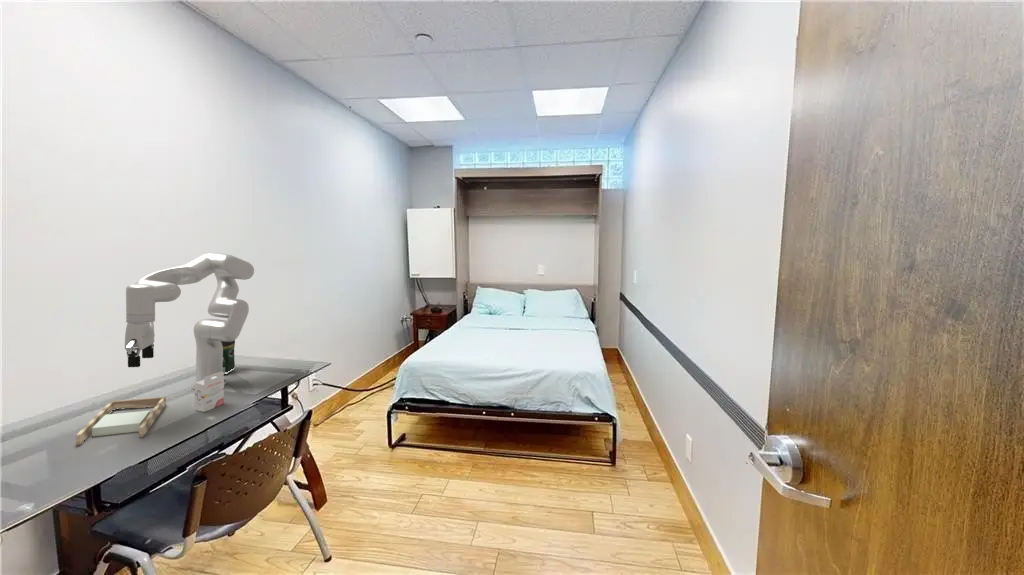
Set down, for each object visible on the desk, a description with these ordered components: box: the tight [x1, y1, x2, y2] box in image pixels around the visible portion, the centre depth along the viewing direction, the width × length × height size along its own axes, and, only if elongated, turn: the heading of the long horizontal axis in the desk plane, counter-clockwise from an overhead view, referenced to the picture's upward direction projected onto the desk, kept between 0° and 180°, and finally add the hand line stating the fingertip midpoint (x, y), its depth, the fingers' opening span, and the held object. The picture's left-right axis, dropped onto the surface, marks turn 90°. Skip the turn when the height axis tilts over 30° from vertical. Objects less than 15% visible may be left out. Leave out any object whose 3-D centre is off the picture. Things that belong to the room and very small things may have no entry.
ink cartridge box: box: [194, 371, 225, 413], centre depth 153 cm, size 9×5×15 cm, turn 168°
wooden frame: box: [75, 396, 167, 446], centre depth 136 cm, size 26×16×4 cm, turn 30°
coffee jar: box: [221, 339, 236, 373], centre depth 186 cm, size 10×8×19 cm
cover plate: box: [91, 410, 151, 437], centre depth 133 cm, size 10×12×4 cm
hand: (141, 362), depth 138 cm, fingers open, 9 cm apart
